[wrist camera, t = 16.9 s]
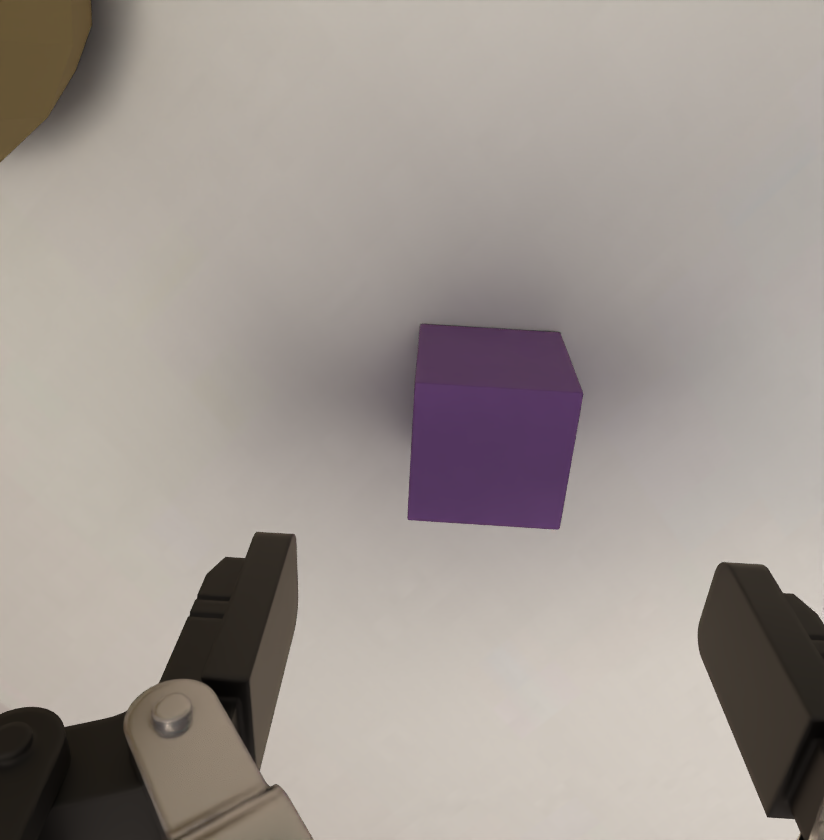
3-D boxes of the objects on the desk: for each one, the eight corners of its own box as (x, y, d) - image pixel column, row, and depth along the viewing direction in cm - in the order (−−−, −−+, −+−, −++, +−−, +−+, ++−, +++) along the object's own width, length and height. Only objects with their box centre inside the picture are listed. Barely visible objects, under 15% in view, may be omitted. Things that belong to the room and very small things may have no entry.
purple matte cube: (560, 331, 21) (583, 392, 17) (541, 452, 23) (559, 530, 19) (420, 323, 21) (414, 382, 17) (413, 444, 23) (407, 520, 19)
